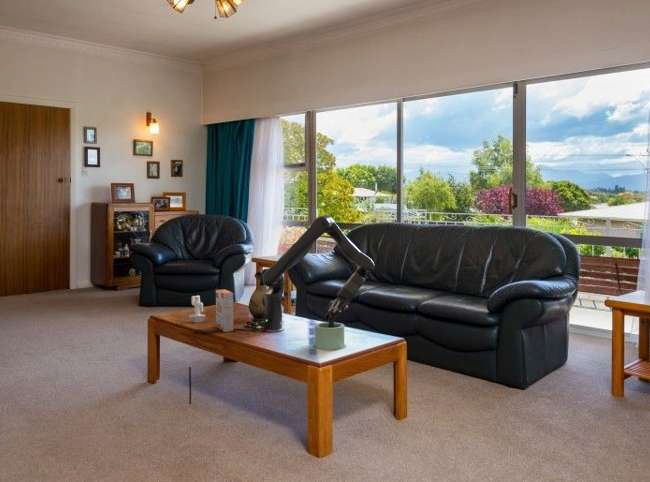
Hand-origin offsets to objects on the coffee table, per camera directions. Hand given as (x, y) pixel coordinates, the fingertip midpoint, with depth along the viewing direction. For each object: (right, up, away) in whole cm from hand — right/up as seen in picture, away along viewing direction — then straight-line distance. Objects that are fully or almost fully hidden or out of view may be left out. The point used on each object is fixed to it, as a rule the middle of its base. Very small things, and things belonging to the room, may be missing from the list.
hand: (327, 319), depth 270 cm
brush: (+2, -11, +1) cm, 11 cm away
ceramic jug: (-39, -13, +63) cm, 75 cm away
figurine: (-76, -13, +55) cm, 95 cm away
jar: (+1, -13, -1) cm, 13 cm away
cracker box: (-57, -13, +34) cm, 67 cm away
